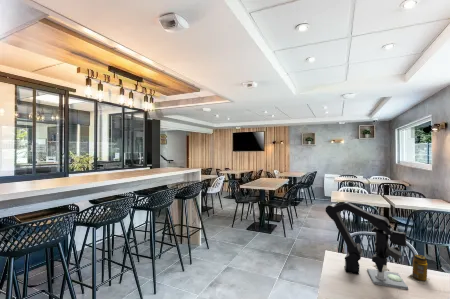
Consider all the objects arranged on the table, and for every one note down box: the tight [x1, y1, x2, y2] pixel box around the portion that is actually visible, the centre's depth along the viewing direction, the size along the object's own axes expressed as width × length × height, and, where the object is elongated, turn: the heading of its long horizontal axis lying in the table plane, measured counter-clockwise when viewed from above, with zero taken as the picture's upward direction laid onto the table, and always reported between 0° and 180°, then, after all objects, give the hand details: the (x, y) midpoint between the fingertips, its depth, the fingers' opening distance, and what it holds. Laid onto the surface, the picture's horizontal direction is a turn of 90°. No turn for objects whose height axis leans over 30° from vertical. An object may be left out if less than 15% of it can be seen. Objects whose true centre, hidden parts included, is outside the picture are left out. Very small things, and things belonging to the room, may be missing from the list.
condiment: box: [407, 254, 431, 285], centre depth 126 cm, size 7×8×12 cm
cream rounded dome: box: [372, 263, 391, 272], centre depth 124 cm, size 7×5×3 cm
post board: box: [366, 268, 409, 290], centre depth 125 cm, size 15×13×6 cm
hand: (380, 269), depth 124 cm, fingers closed on cream rounded dome, 5 cm apart
